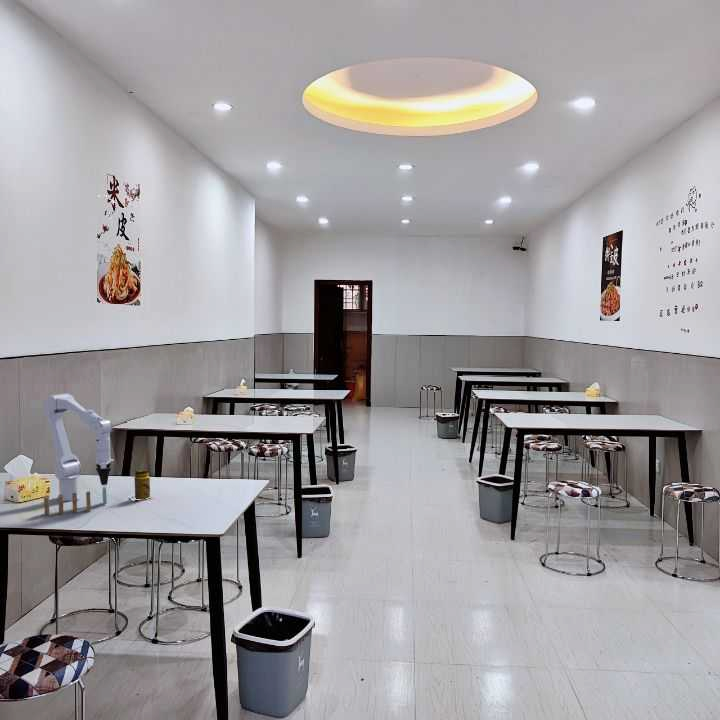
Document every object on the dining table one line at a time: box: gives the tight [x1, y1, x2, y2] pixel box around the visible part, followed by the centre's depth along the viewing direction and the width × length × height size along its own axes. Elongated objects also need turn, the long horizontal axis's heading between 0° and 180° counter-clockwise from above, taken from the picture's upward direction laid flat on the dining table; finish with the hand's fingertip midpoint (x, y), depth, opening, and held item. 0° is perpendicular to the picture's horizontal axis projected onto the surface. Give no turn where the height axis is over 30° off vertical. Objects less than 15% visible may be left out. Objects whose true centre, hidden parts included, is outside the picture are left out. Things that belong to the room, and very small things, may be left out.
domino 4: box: [85, 491, 92, 513], centre depth 278 cm, size 4×1×7 cm, turn 20°
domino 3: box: [71, 493, 78, 514], centre depth 276 cm, size 4×1×7 cm, turn 20°
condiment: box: [134, 468, 151, 499], centre depth 295 cm, size 7×8×12 cm
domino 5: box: [101, 485, 108, 506], centre depth 287 cm, size 4×1×7 cm, turn 20°
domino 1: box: [43, 494, 51, 517], centre depth 273 cm, size 4×1×7 cm, turn 20°
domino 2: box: [57, 493, 64, 515], centre depth 274 cm, size 4×1×7 cm, turn 20°
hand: (104, 482), depth 287 cm, fingers open, 7 cm apart
